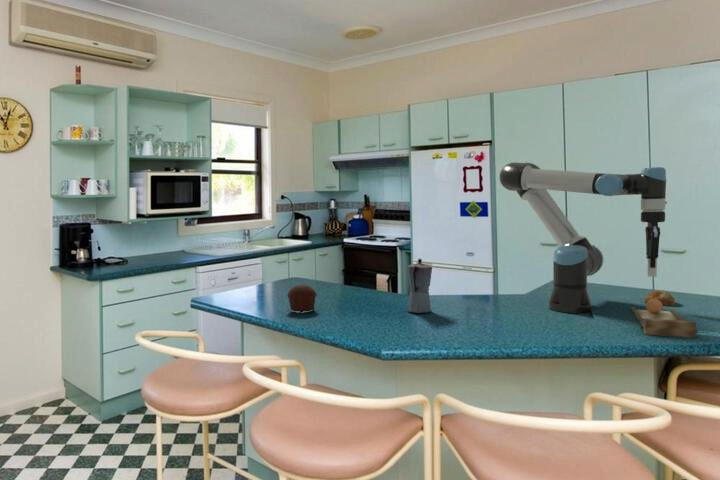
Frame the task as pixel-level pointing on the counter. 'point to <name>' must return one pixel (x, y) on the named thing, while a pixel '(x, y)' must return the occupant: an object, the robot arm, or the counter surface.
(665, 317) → the lane
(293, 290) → the muffin
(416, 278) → the moka pot
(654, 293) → the bread roll
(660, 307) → the ball
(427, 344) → the counter surface
